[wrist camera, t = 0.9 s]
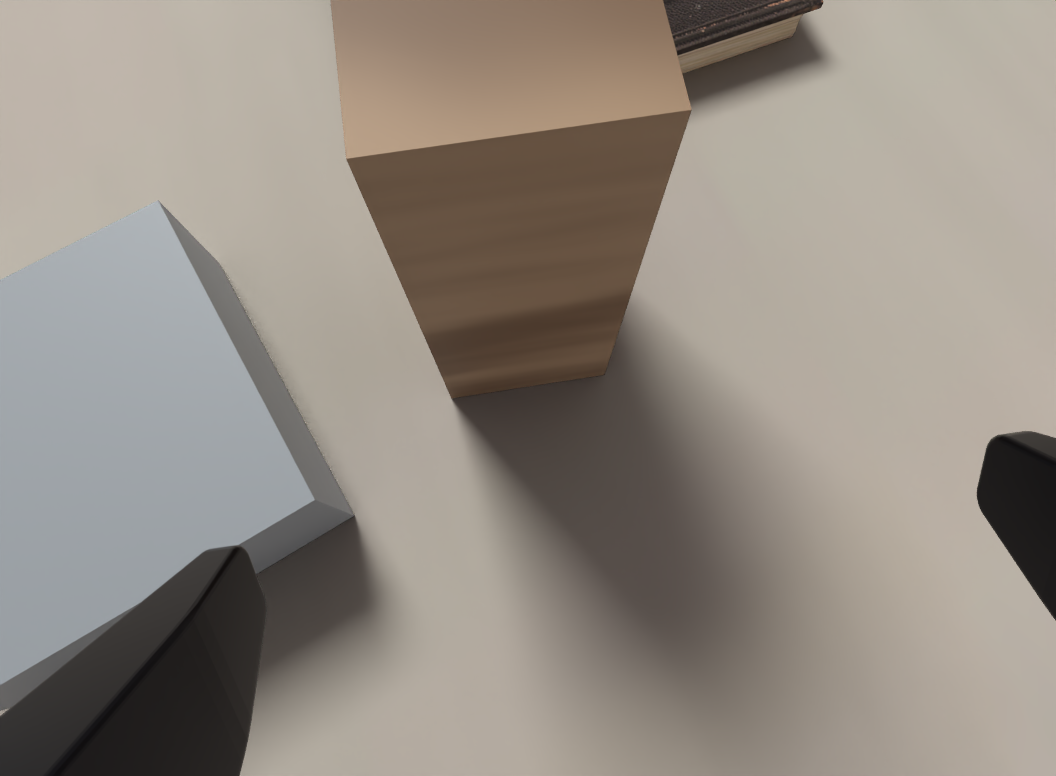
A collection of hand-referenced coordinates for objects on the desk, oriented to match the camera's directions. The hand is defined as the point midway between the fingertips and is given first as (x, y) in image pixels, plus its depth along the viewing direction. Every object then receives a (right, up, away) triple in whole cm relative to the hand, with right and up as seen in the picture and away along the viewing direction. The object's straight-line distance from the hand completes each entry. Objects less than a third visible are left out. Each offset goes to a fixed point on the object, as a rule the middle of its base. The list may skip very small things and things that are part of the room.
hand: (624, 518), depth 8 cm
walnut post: (-2, +4, +15) cm, 15 cm away
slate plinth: (-13, -1, +14) cm, 19 cm away
